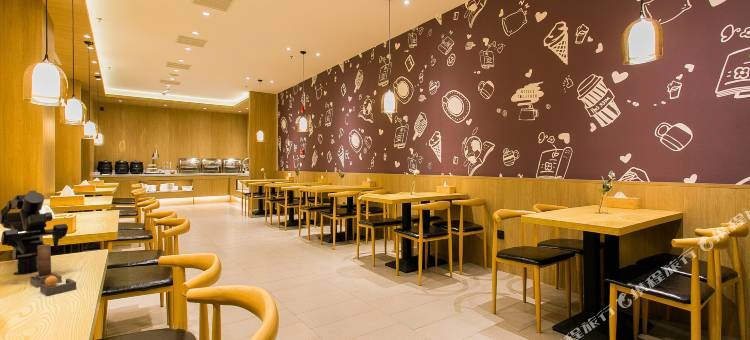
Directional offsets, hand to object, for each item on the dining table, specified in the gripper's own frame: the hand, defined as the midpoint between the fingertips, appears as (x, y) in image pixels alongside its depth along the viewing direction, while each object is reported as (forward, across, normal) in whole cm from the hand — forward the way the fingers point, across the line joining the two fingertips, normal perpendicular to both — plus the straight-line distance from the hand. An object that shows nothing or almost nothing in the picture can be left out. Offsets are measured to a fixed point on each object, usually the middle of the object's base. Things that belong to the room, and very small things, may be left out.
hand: (40, 251), depth 140 cm
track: (+12, 0, +4) cm, 12 cm away
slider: (+11, 0, +5) cm, 12 cm away
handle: (-16, +6, +32) cm, 36 cm away
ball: (+15, 0, -2) cm, 15 cm away
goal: (+22, 0, -6) cm, 23 cm away
